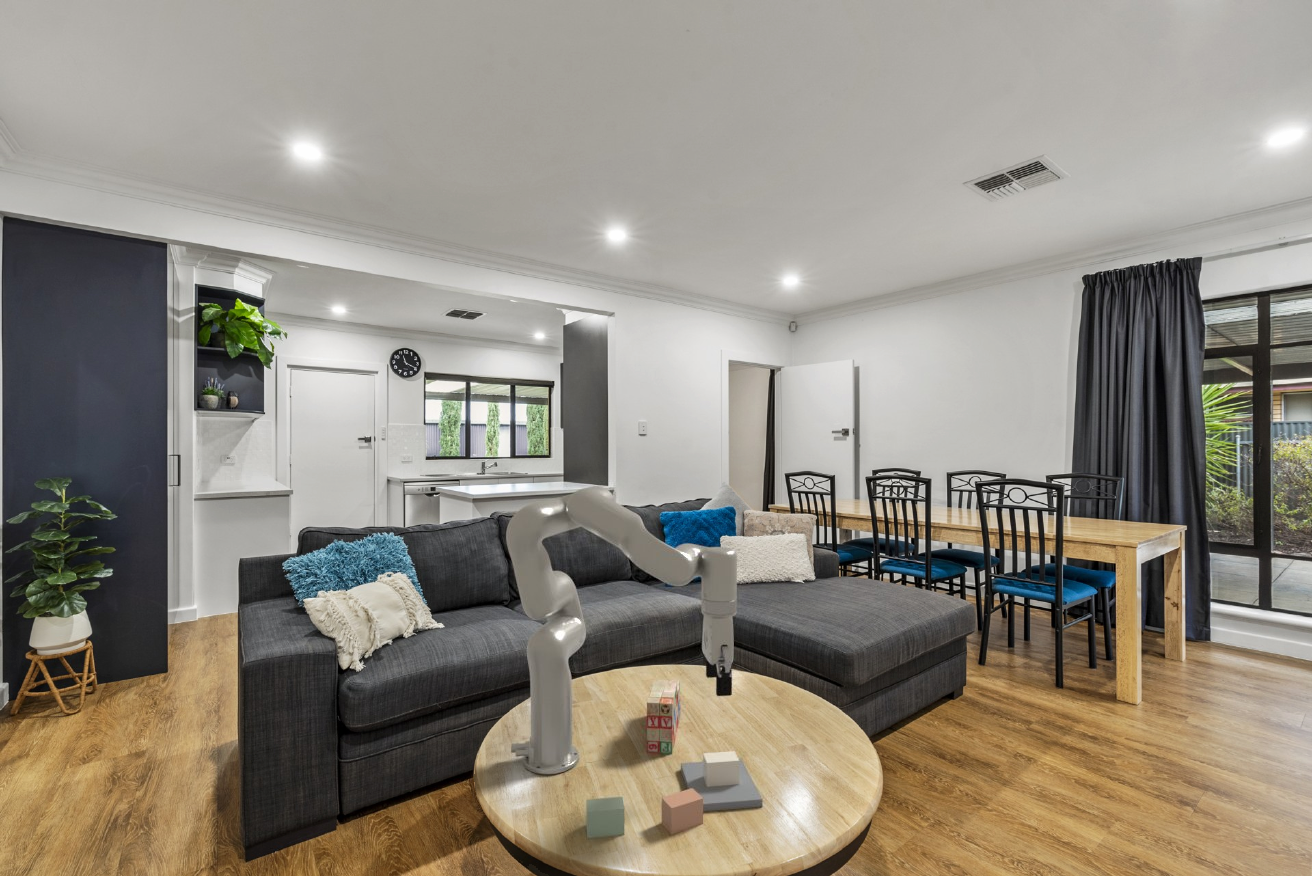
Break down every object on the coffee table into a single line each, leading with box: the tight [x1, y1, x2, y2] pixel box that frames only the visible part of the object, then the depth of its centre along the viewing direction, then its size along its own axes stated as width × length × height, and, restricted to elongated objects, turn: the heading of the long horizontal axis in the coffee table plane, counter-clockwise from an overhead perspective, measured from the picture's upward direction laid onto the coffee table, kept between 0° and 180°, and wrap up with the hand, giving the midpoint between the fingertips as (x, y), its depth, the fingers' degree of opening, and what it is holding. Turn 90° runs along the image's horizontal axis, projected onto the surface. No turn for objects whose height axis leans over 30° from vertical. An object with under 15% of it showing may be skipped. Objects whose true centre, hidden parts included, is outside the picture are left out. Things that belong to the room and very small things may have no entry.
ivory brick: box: [702, 750, 740, 787], centre depth 133 cm, size 7×4×5 cm, turn 98°
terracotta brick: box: [661, 788, 704, 835], centre depth 120 cm, size 7×4×5 cm, turn 118°
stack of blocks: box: [646, 679, 681, 755], centre depth 158 cm, size 21×6×12 cm, turn 173°
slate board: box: [680, 758, 763, 813], centre depth 133 cm, size 14×16×2 cm
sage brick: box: [585, 796, 625, 839], centre depth 118 cm, size 7×4×5 cm, turn 98°
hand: (718, 685), depth 133 cm, fingers open, 9 cm apart
